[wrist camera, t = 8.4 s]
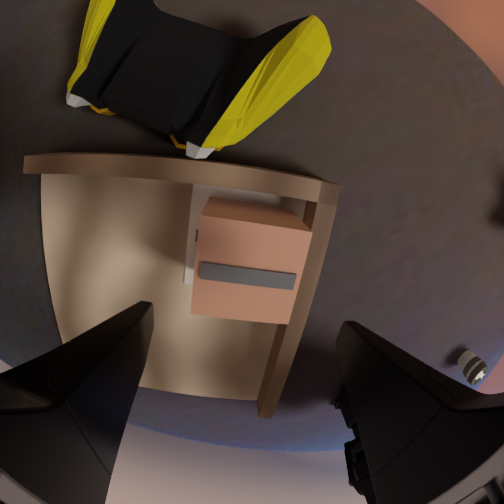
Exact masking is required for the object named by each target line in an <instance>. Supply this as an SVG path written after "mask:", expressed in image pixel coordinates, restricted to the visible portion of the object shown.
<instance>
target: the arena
mask: <svg viewBox="0 0 504 504" xmlns="http://www.w3.org/2000/svg"><path fill="white" fill-rule="evenodd" d="M23 174H41V215H42V232H43V244H44V253H45V261H46V269H47V275H48V282H49V287H50V293H51V298H52V303H53V307H54V312H55V316H56V320H57V324H58V328H59V332H60V336H61V339H62V343H63V344H64V343H66V342H68V341H69V342H70V340H71V339H73V338H75V337H77V336H78V335H80V334H82V333H84V332H85V331H87V330H89V329H91V328H93V327H94V326H96V325H98V324H100V323H101V322H103V321H105V320H107V319H109V318H110V317H112V316H114V315H116V314H118V313H119V312H121V311H123V310H125V309H127V308H128V307H130V306H132V305H134V304H136V303H137V302H139V301H148V302H152V303H153V306H154V329H153V333H152V338H151V342H150V346H149V351H148V355H147V360H146V364H145V368H144V371H143V374H142V377H141V380H140V383H139V386H141V387H146V388H151V389H156V390H162V391H168V392H174V393H181V394H188V395H196V396H205V397H214V398H226V399H240V400H256V401H257V410H258V418H272V416H273V414H274V411H275V408H276V406H277V403H278V401H279V398H280V396H281V393H282V390H283V388H284V385H285V382H286V379H287V377H288V374H289V371H290V368H291V365H292V363H293V360H294V357H295V354H296V351H297V348H298V345H299V342H300V339H301V336H302V333H303V330H304V327H305V323H306V320H307V317H308V314H309V311H310V307H311V304H312V301H313V297H314V294H315V290H316V287H317V283H318V280H319V276H320V273H321V269H322V265H323V262H324V258H325V254H326V250H327V246H328V242H329V238H330V234H331V230H332V226H333V222H334V217H335V213H336V209H337V204H338V200H339V195H340V190H341V185H338V184H336V183H333V182H330V181H327V180H323V179H319V178H314V177H309V176H304V175H299V174H294V173H289V172H284V171H278V170H272V169H266V168H260V167H254V166H248V165H241V164H234V163H227V162H219V161H211V160H203V159H193V158H184V157H173V156H160V155H146V154H128V153H93V152H72V153H45V154H36V155H28V156H24V168H23ZM209 197H216V198H223V199H230V200H237V201H243V202H250V203H256V204H262V205H269V206H275V207H280V208H286V209H291V210H292V211H293V212H294V213H295V214H296V215H297V216H298V217H299V219H300V220H301V221H302V222H303V223H304V224H305V225H306V226H307V227H308V228H309V229H310V230H311V231H312V232H313V233H312V237H311V242H310V246H309V250H308V254H307V258H306V262H305V265H304V269H303V273H302V277H301V281H300V284H299V288H298V292H297V295H296V299H295V303H294V306H293V310H292V313H291V317H290V320H289V323H288V324H276V323H264V322H254V321H244V320H235V319H226V318H218V317H210V316H202V315H195V314H191V302H192V290H193V278H194V268H195V257H196V248H197V239H198V230H199V222H200V215H201V213H202V211H203V209H204V207H205V205H206V203H207V201H208V199H209Z"/></svg>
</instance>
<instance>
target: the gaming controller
mask: <svg viewBox="0 0 504 504" xmlns="http://www.w3.org/2000/svg"><path fill="white" fill-rule="evenodd" d="M331 50H332V49H331V44H330V39H329V36H328V33H327V30H326V28H325V26H324V24H323V23H322V22H321V21H320V20H319V19H318V18H317V17H316V16H314V15H310V16H307V17H304V18H301V19H297V20H294V21H291V22H288V23H286V24H283V25H280V26H278V27H276V28H274V29H272V30H270V31H268V32H266V33H264V34H262V35H260V36H258V37H256V38H248V39H242V38H238V37H234V36H231V35H228V34H226V33H223V32H221V31H218V30H216V29H213V28H210V27H207V26H204V25H202V24H199V23H196V22H193V21H189V20H186V19H183V18H180V17H176V16H173V15H170V14H167V13H165V12H163V11H160V9H159V8H158V7H157V4H156V2H155V0H90V4H89V8H88V11H87V15H86V19H85V24H84V28H83V33H82V38H81V43H80V49H79V55H78V62H77V67H76V69H75V71H74V72H73V74H72V76H71V78H70V80H69V82H68V84H67V87H68V91H67V95H66V102H67V104H68V105H71V106H73V107H79V106H86V105H89V106H90V107H91V108H92V109H93V110H95V111H96V112H97V113H99V114H103V115H107V116H111V115H115V114H119V115H122V116H124V117H126V118H129V119H131V120H134V121H136V122H138V123H141V124H143V125H145V126H148V127H150V128H152V129H155V130H157V131H159V132H161V133H164V134H166V135H168V136H170V138H171V139H172V141H173V142H174V144H175V145H176V147H178V148H183V149H186V155H187V156H189V157H192V158H194V159H198V158H206V157H207V156H208V155H209V154H210V153H211V152H212V151H220V150H221V149H222V148H223V147H224V146H227V145H233V144H235V143H237V142H239V141H240V140H242V139H244V138H245V137H246V136H247V135H249V134H250V133H251V132H252V131H253V130H255V129H256V128H257V127H259V126H260V125H261V124H262V123H264V122H265V121H266V120H267V119H269V118H270V117H271V116H273V115H274V114H275V113H276V112H277V111H278V110H279V109H280V108H281V107H282V106H284V105H285V104H286V103H287V102H288V101H289V100H290V99H291V98H292V97H294V96H295V95H296V94H297V93H298V92H299V91H300V90H302V89H303V88H304V87H305V86H306V85H307V84H308V83H310V82H311V81H312V80H313V79H314V78H315V77H316V76H317V75H318V74H319V73H320V71H321V69H322V67H323V66H324V64H325V62H326V60H327V59H328V57H329V55H330V52H331Z"/></svg>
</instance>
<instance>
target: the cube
mask: <svg viewBox="0 0 504 504" xmlns="http://www.w3.org/2000/svg"><path fill="white" fill-rule="evenodd" d="M312 233H313V232H312V231H311V230H310V229H309V228H308V227H307V226H306V225H305V224H304V223H303V222H302V221H301V220H300V219H299V217H298V216H297V215H296V214H295V213H294V212H293V211H292V210H291V209H286V208H280V207H275V206H269V205H262V204H256V203H250V202H243V201H237V200H230V199H223V198H216V197H209V199H208V201H207V203H206V205H205V207H204V209H203V211H202V213H201V215H200V222H199V230H198V239H197V248H196V257H195V268H194V278H193V290H192V302H191V314H195V315H202V316H210V317H218V318H226V319H235V320H244V321H254V322H264V323H276V324H288V323H289V320H290V317H291V313H292V310H293V306H294V303H295V299H296V295H297V292H298V288H299V284H300V281H301V277H302V273H303V269H304V265H305V262H306V258H307V254H308V250H309V246H310V242H311V237H312Z"/></svg>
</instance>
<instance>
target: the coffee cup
mask: <svg viewBox="0 0 504 504" xmlns="http://www.w3.org/2000/svg"><path fill="white" fill-rule="evenodd" d="M457 363H458V365H459V367H460V368H461V370H462V372H463V374H464V376H465V377H466V378H467V381H468V382H469V383H470V384H471V385H474V384H476V383H478V382H479V381H480V380H481V379H482V377H483V376H484V375H485V374H486V372H487V370H488V367H487V365H486V363H485V361H482V360H481V359H480V358H479V357H477V356H476V355H475V354H473V353H472V352H471V351H470V350H466V351H465V352H464V353H462V355H461V356H460V357H459V359H458V361H457Z"/></svg>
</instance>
